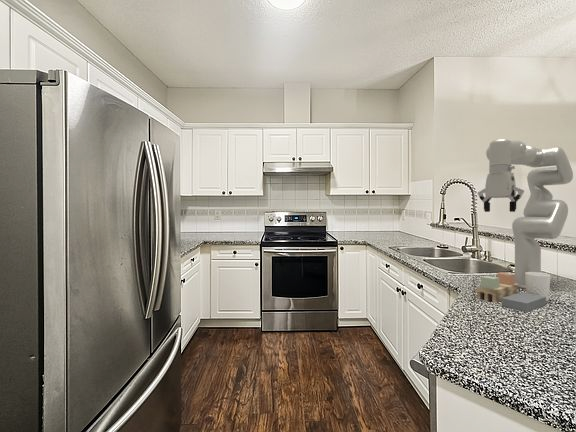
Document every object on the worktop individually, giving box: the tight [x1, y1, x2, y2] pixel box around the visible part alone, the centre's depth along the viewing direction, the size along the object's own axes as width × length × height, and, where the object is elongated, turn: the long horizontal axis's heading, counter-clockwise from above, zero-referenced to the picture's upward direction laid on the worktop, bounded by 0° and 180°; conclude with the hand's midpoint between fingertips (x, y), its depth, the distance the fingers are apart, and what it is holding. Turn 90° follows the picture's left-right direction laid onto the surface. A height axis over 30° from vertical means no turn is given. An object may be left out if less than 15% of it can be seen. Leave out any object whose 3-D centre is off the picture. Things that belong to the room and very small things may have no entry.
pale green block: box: [480, 275, 499, 289], centre depth 127 cm, size 4×5×4 cm
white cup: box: [525, 272, 551, 302], centre depth 126 cm, size 8×8×10 cm
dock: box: [501, 291, 547, 313], centre depth 118 cm, size 15×8×3 cm, turn 121°
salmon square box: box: [496, 271, 515, 285], centre depth 133 cm, size 4×5×4 cm
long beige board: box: [476, 283, 520, 303], centre depth 130 cm, size 18×7×5 cm, turn 121°
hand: (499, 211), depth 133 cm, fingers open, 9 cm apart
